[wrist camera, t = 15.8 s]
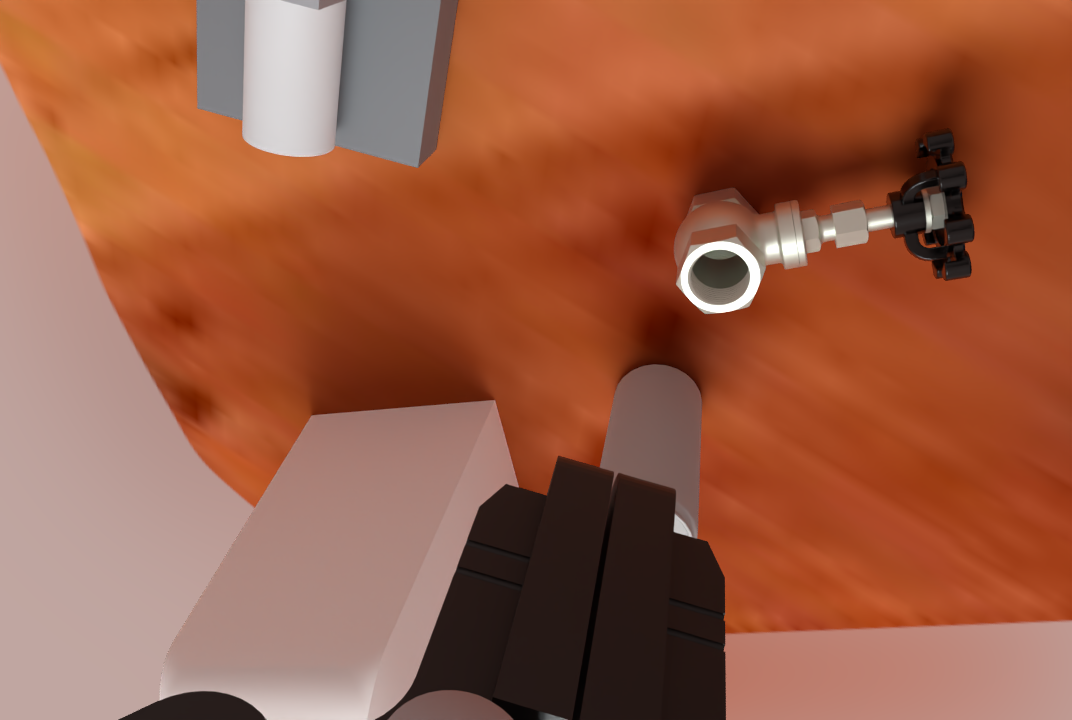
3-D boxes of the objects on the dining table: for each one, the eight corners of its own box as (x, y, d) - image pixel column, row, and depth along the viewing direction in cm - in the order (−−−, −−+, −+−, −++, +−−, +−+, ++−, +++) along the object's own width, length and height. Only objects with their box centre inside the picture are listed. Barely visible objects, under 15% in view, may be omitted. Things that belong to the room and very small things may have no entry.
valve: (690, 289, 44) (942, 245, 40) (686, 351, 38) (978, 307, 35) (664, 167, 41) (933, 108, 37) (655, 215, 35) (971, 151, 32)
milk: (494, 399, 49) (314, 833, 27) (536, 549, 55) (412, 1013, 33) (311, 415, 52) (16, 815, 30) (367, 555, 58) (150, 982, 36)
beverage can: (710, 367, 46) (708, 512, 35) (692, 439, 48) (685, 593, 38) (622, 351, 46) (595, 489, 36) (609, 422, 49) (579, 571, 38)
